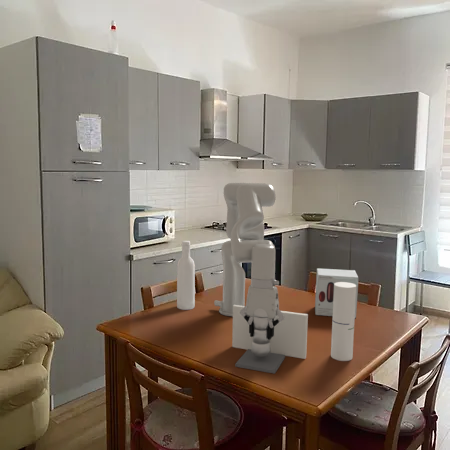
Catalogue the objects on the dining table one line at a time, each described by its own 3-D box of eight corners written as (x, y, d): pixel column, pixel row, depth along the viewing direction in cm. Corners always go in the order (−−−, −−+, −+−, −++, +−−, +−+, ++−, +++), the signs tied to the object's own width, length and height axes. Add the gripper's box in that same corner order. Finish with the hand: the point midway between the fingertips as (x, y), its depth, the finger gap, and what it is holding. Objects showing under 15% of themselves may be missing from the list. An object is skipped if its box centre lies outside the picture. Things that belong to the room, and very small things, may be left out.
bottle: (198, 306, 213) (198, 241, 209) (187, 311, 206) (187, 243, 202) (184, 303, 217) (184, 239, 213) (173, 307, 210) (173, 241, 206)
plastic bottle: (249, 358, 152) (251, 298, 149) (252, 350, 159) (254, 292, 156) (269, 360, 151) (271, 300, 148) (271, 352, 157) (273, 294, 154)
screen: (232, 346, 167) (233, 305, 165) (233, 345, 168) (234, 304, 166) (305, 358, 158) (306, 315, 156) (306, 357, 159) (307, 314, 157)
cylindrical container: (328, 352, 163) (331, 282, 160) (348, 352, 164) (351, 281, 161) (334, 361, 156) (338, 287, 153) (355, 360, 157) (359, 287, 154)
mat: (235, 366, 151) (235, 363, 151) (248, 351, 163) (248, 348, 163) (274, 373, 146) (274, 370, 146) (285, 357, 158) (285, 354, 158)
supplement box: (315, 315, 203) (317, 274, 200) (314, 306, 216) (316, 267, 213) (357, 318, 200) (359, 276, 197) (353, 308, 213) (355, 269, 210)
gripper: (291, 282, 152) (289, 336, 154) (241, 277, 158) (240, 329, 160) (286, 288, 145) (284, 345, 147) (233, 282, 151) (232, 337, 153)
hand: (261, 336), depth 154 cm, fingers closed on plastic bottle, 5 cm apart
